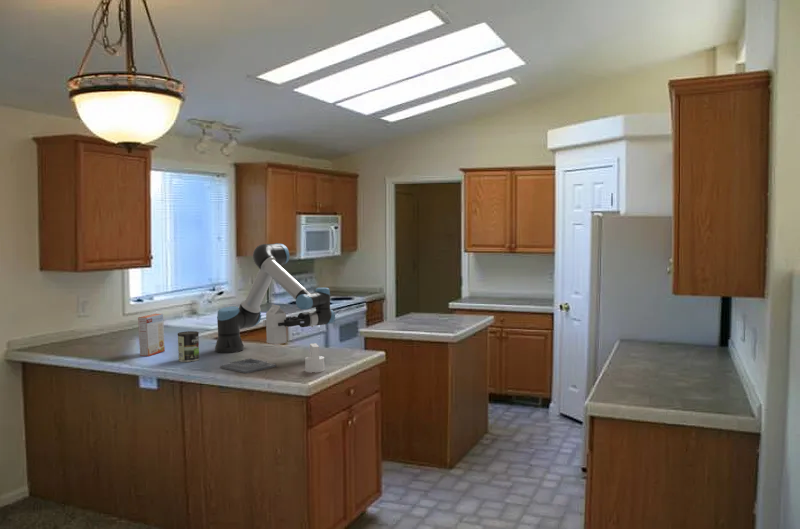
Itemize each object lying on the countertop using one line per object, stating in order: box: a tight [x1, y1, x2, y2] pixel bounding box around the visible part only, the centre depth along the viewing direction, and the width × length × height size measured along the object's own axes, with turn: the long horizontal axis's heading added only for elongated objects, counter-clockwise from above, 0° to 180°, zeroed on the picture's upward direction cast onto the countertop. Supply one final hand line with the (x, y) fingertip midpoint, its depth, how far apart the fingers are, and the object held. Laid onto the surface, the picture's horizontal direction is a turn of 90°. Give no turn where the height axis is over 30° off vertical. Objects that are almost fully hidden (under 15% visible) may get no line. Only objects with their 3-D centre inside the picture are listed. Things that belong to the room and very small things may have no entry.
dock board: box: [219, 362, 277, 374], centre depth 321 cm, size 20×18×1 cm
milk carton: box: [265, 304, 287, 345], centre depth 330 cm, size 7×7×19 cm
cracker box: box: [137, 313, 166, 357], centre depth 357 cm, size 14×6×21 cm, turn 163°
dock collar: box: [229, 358, 268, 369], centre depth 321 cm, size 12×12×2 cm
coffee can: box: [177, 330, 200, 363], centre depth 340 cm, size 10×10×14 cm
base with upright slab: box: [304, 343, 325, 374], centre depth 312 cm, size 9×9×12 cm
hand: (267, 324), depth 327 cm, fingers closed on milk carton, 8 cm apart
